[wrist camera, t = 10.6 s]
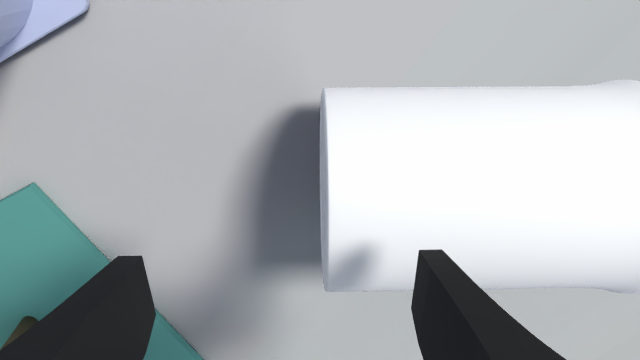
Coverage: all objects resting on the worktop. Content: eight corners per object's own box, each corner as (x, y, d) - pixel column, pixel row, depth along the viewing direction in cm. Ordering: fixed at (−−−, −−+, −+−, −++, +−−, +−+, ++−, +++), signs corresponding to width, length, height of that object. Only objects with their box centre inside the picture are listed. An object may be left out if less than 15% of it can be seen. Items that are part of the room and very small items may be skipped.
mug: (548, 318, 23) (320, 323, 23) (514, 172, 27) (317, 175, 26) (754, 261, 12) (329, 268, 12) (651, 31, 16) (322, 31, 16)
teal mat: (-193, 301, 24) (-202, 307, 24) (33, 182, 21) (28, 187, 21) (24, 445, 31) (20, 453, 31) (215, 371, 29) (214, 378, 28)
